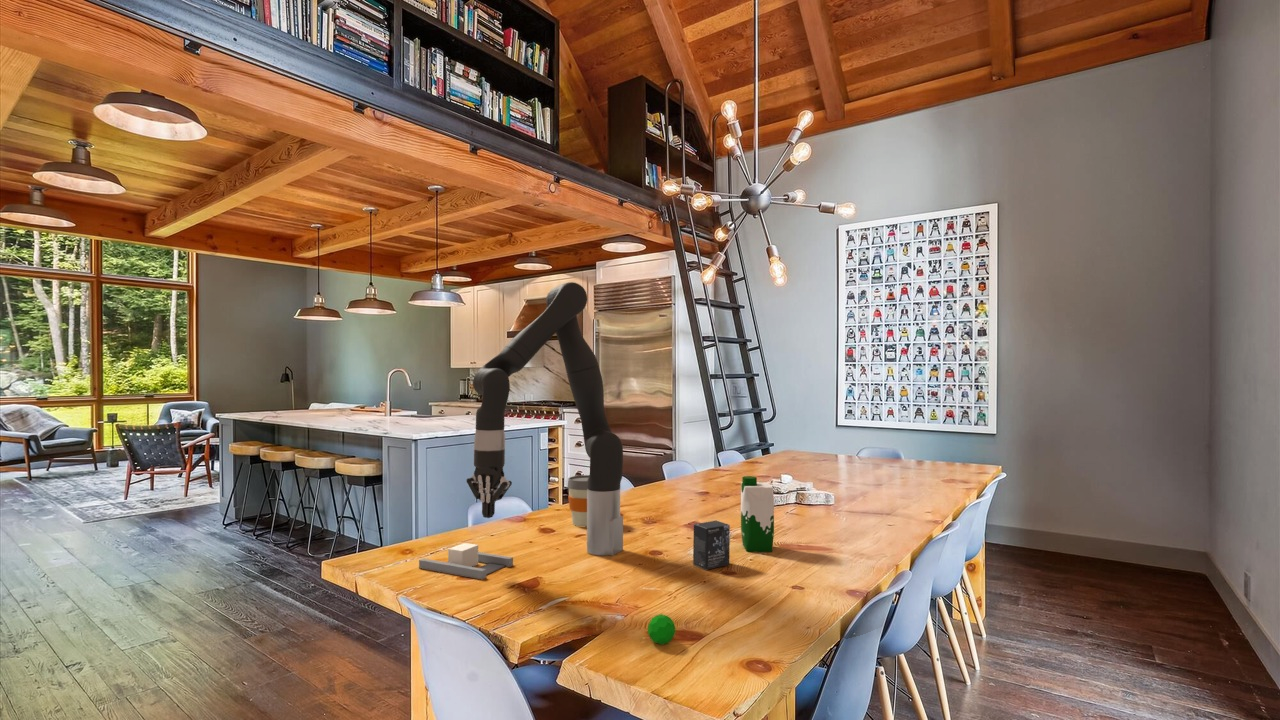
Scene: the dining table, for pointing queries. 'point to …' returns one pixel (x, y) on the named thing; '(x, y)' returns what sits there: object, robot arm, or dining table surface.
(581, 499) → the reusable coffee cup
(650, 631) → the polyhedron
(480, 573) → the channel
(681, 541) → the dining table surface
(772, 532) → the milk carton
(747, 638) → the dining table surface
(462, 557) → the block
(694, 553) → the box
